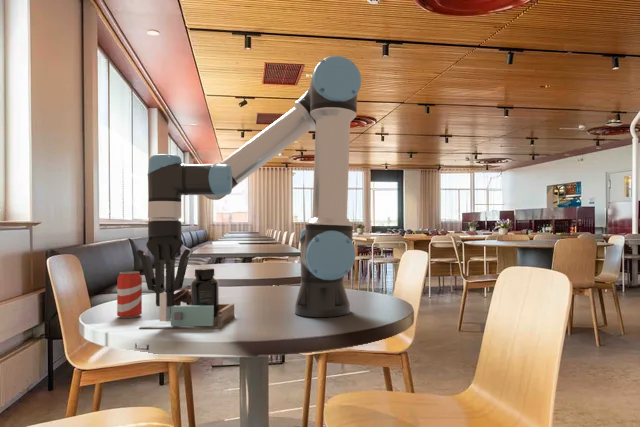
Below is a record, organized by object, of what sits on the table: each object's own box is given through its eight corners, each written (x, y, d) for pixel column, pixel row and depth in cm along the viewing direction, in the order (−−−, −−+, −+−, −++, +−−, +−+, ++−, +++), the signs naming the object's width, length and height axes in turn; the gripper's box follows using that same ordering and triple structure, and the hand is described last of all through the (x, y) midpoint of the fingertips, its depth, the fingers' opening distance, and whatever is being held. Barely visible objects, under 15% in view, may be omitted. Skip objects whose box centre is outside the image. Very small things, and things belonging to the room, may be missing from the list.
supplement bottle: (223, 314, 118) (223, 267, 118) (211, 319, 111) (210, 270, 112) (199, 313, 120) (199, 267, 120) (185, 318, 113) (185, 269, 113)
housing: (236, 317, 121) (236, 303, 121) (221, 328, 106) (221, 313, 106) (164, 317, 122) (164, 304, 122) (139, 328, 107) (139, 313, 107)
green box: (213, 325, 107) (213, 305, 107) (211, 326, 105) (211, 306, 106) (172, 325, 108) (172, 305, 108) (169, 326, 106) (169, 306, 106)
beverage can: (111, 318, 121) (112, 273, 122) (127, 314, 127) (127, 271, 128) (131, 319, 120) (132, 273, 120) (146, 314, 126) (146, 271, 126)
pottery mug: (202, 320, 120) (186, 294, 118) (171, 335, 121) (155, 310, 119) (212, 301, 132) (198, 277, 130) (184, 316, 133) (169, 292, 131)
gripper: (197, 220, 112) (197, 317, 111) (145, 221, 113) (145, 317, 112) (186, 219, 104) (186, 323, 103) (130, 220, 105) (130, 323, 104)
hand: (165, 320), depth 108 cm, fingers closed
